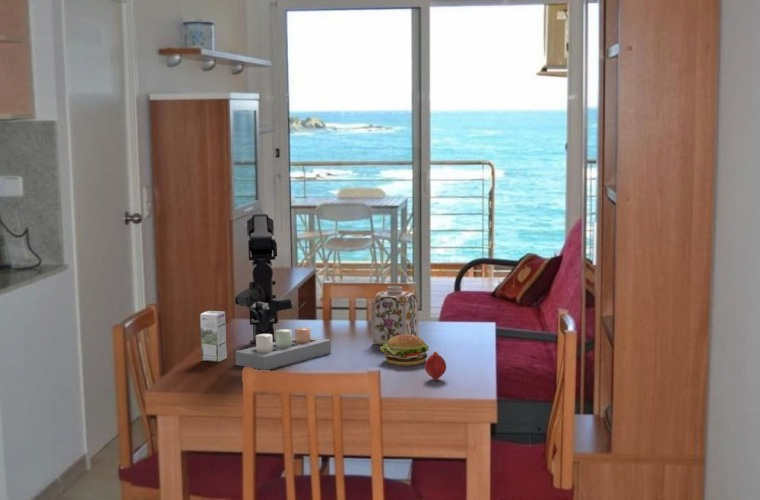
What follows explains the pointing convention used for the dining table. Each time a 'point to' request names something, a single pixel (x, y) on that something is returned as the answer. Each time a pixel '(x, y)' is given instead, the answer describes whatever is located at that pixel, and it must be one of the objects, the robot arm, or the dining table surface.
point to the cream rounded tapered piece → (264, 343)
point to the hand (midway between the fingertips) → (264, 330)
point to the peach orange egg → (302, 335)
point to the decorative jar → (394, 314)
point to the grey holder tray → (283, 354)
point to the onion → (435, 366)
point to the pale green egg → (283, 338)
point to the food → (405, 350)
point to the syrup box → (213, 336)
